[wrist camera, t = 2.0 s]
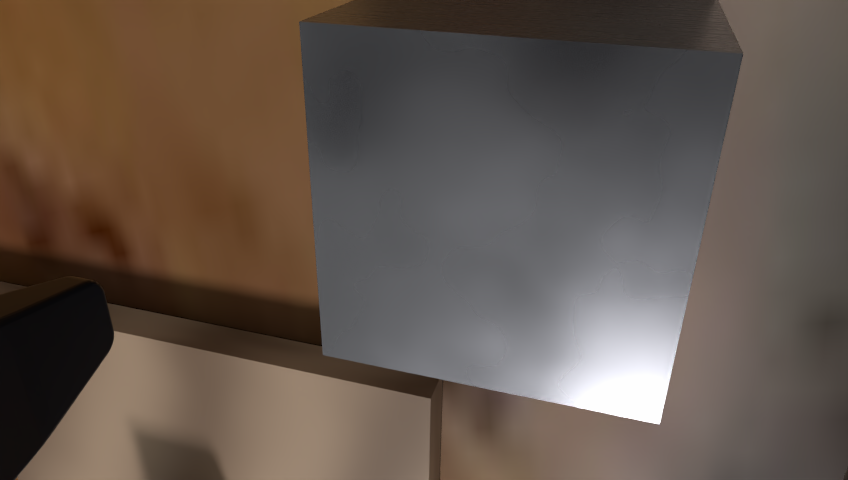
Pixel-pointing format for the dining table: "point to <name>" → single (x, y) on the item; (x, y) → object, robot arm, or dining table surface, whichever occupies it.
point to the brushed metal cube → (515, 187)
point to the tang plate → (238, 411)
